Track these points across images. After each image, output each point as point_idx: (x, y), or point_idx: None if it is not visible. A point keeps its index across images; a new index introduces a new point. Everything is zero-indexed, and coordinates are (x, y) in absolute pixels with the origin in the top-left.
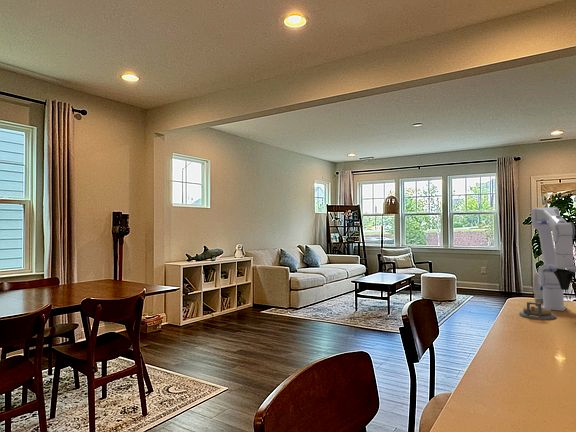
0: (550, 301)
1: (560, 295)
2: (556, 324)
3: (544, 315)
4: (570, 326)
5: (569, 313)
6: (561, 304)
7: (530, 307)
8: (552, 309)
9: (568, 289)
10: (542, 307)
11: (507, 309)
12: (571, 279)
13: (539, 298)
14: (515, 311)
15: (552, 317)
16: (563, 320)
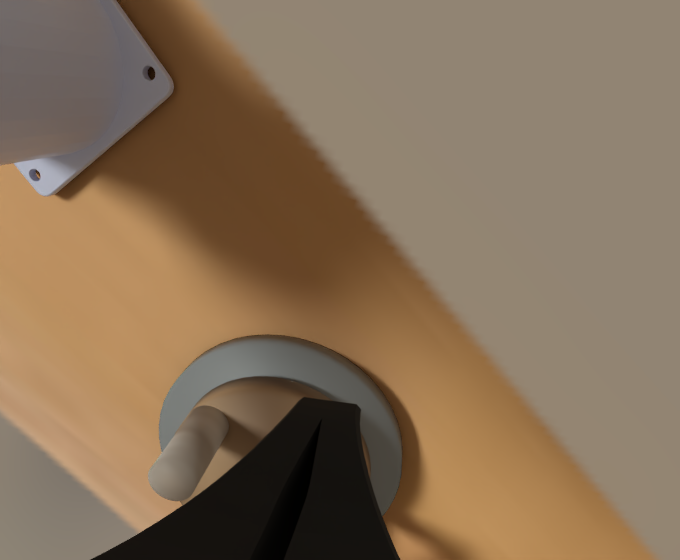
0: (39, 153)
1: (12, 52)
2: (524, 535)
3: None
4: (610, 512)
5: (265, 110)
6: (91, 46)
7: (203, 477)
8: (111, 143)
9: (359, 409)
10: (227, 402)
11: (40, 433)
12: (389, 546)
13: (182, 476)
14: (109, 439)
15: (401, 449)
16: (457, 400)
